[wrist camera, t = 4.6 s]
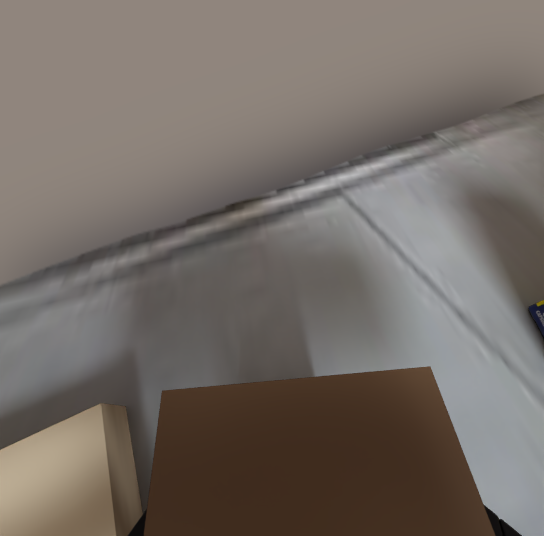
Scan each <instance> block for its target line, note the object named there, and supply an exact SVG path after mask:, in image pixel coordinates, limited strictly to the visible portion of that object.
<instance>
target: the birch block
mask: <svg viewBox="0 0 544 536" xmlns="http://www.w3.org/2000/svg"><path fill="white" fill-rule="evenodd" d="M142 515H143V512H142V506H141V500H140V493H139V487H138V481H137V475H136V468H135V462H134V456H133V450H132V443H131V437H130V431H129V425H128V418H127V412H126V406H119V405H111V404H104V403H100V404H98V405H96V406H94V407H92V408H89V409H87V410H85V411H83V412H81V413H79V414H76V415H74V416H72V417H70V418H68V419H66V420H64V421H61V422H59V423H57V424H55V425H53V426H51V427H48V428H46V429H44V430H42V431H40V432H38V433H36V434H33V435H31V436H29V437H27V438H25V439H23V440H20V441H18V442H16V443H14V444H12V445H10V446H8V447H5V448H3V449H1V450H0V536H127V535H128V534H129V533H130V531H131V530H132V528H133V527H134V526H135V524H136V523H137V522H138V520H139V519H140V517H141V516H142Z"/></svg>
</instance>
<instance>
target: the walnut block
mask: <svg viewBox="0 0 544 536" xmlns="http://www.w3.org/2000/svg"><path fill="white" fill-rule="evenodd" d="M144 536H495V533H494V531H493V528H492V526H491V523H490V520H489V518H488V515H487V513H486V510H485V507H484V505H483V502H482V500H481V497H480V494H479V492H478V489H477V487H476V484H475V482H474V479H473V476H472V474H471V471H470V469H469V466H468V463H467V461H466V458H465V456H464V453H463V450H462V448H461V445H460V443H459V440H458V437H457V435H456V432H455V430H454V427H453V424H452V422H451V419H450V417H449V414H448V411H447V409H446V406H445V404H444V401H443V398H442V396H441V393H440V391H439V388H438V385H437V383H436V380H435V378H434V375H433V372H432V370H431V367H419V368H408V369H397V370H386V371H375V372H364V373H353V374H342V375H331V376H320V377H309V378H297V379H286V380H275V381H264V382H253V383H242V384H231V385H220V386H209V387H198V388H187V389H176V390H165V391H162V395H161V403H160V411H159V419H158V427H157V435H156V442H155V450H154V458H153V466H152V474H151V482H150V490H149V498H148V505H147V513H146V521H145V529H144Z"/></svg>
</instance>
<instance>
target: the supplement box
mask: <svg viewBox="0 0 544 536" xmlns="http://www.w3.org/2000/svg"><path fill="white" fill-rule="evenodd" d="M529 311H530V313H531V315H532V317H533V319H534V320H535V321H536V323H537V325H538V327H539V328H540V330H541V332H542V335H543V337H544V300H542V301H540V302H538V303H536V304H534V305H531V306H529Z"/></svg>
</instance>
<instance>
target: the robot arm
mask: <svg viewBox="0 0 544 536" xmlns="http://www.w3.org/2000/svg"><path fill="white" fill-rule="evenodd" d="M483 505H484V504H483ZM484 507H485V510H486V513H487V515H488V518H489V520H490V523H491V526H492V528H493V531H494V533H495V536H522V535H520V534H519V533H518V532H517V531H516V530H514V529H513V528H512V527H511V526H509V525H508V524H507V523H506V522H504V521H503V520H502V519H499V518H498V516H497V515H496V514H495V513H493V512H492V511H491V510H490V509H488V508H487V507H486V506H485V505H484ZM146 513H147V509H146V511H145V512H144V513H143V515H142V516H141V517H140V519H139V520H138V522H137V523H136V524H135V526H134V527H133V528H132V530H131V531H130V533H129V534H128V535H127V536H144V529H145V521H146Z"/></svg>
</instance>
